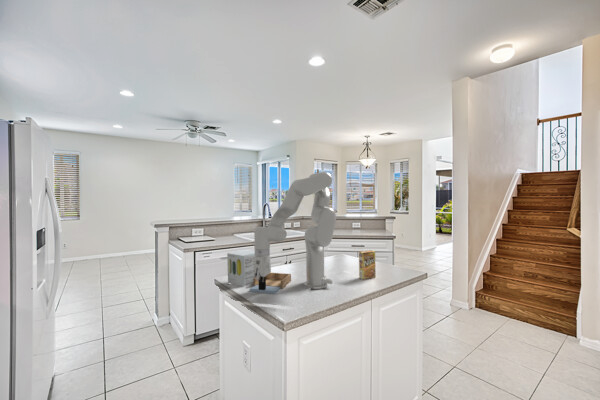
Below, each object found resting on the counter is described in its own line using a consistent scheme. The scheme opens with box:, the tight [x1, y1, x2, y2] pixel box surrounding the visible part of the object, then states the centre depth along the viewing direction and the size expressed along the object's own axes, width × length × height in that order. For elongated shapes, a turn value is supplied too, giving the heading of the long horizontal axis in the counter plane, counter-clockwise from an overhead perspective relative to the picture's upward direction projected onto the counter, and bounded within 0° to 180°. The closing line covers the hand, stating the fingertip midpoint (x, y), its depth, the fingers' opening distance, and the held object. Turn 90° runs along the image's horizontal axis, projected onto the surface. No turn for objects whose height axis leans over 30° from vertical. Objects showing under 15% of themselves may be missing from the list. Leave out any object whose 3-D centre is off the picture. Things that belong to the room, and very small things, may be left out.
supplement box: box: [226, 248, 256, 288], centre depth 153 cm, size 13×13×18 cm
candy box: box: [358, 250, 377, 280], centre depth 161 cm, size 9×4×15 cm, turn 113°
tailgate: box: [249, 285, 282, 295], centre depth 139 cm, size 13×2×8 cm
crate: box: [253, 271, 292, 290], centre depth 149 cm, size 16×14×5 cm
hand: (262, 289), depth 136 cm, fingers closed
